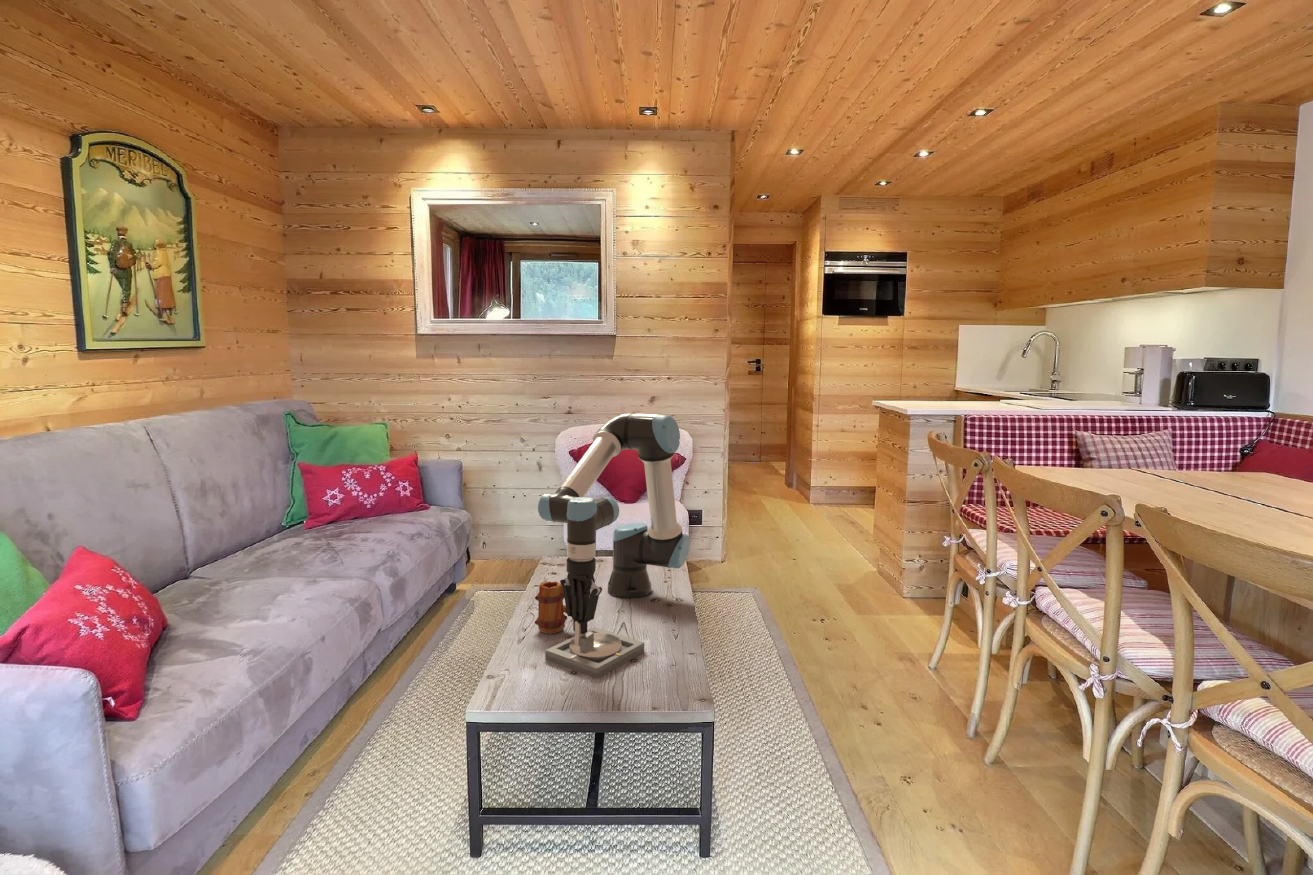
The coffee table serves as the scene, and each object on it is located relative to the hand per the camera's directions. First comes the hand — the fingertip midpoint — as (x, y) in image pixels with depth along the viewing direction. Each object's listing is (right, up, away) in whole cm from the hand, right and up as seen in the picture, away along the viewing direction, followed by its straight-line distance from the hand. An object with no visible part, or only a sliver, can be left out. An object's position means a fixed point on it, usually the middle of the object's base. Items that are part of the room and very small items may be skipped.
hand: (580, 644), depth 181 cm
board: (+4, -5, +5) cm, 7 cm away
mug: (-8, -3, +22) cm, 24 cm away
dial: (+4, -3, +4) cm, 7 cm away
